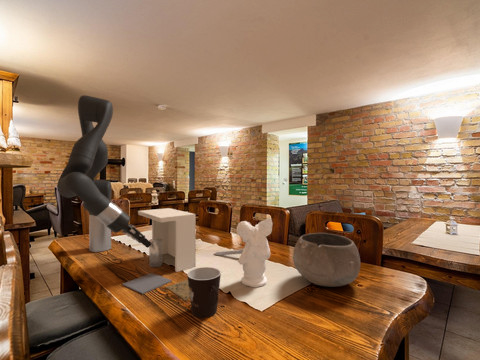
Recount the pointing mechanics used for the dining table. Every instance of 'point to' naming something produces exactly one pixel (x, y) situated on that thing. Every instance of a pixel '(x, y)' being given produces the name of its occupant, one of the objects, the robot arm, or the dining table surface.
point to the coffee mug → (204, 291)
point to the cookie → (180, 289)
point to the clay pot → (327, 259)
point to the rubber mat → (146, 283)
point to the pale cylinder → (156, 252)
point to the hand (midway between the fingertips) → (145, 243)
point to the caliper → (229, 252)
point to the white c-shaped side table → (175, 234)
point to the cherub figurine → (254, 251)
